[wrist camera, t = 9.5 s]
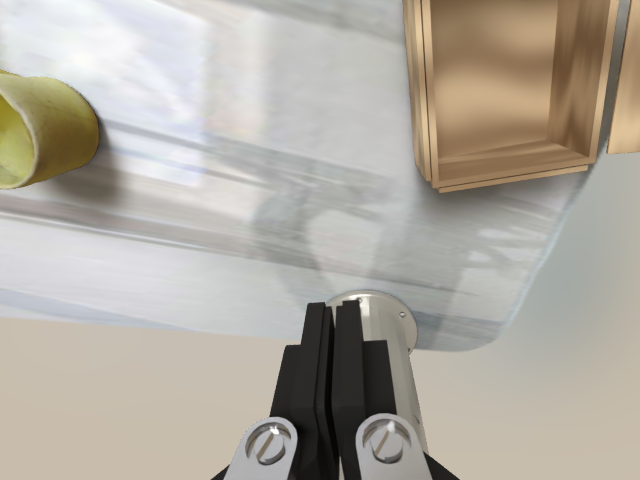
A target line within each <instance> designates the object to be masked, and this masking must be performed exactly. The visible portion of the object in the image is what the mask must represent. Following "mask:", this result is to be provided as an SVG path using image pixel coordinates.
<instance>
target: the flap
mask: <svg viewBox="0 0 640 480" xmlns="http://www.w3.org/2000/svg"><path fill="white" fill-rule="evenodd" d="M632 152H640V0H630V6H629V12H628V19H627V25H626V31H625V38H624V44H623V50H622V57H621V63H620V69H619V76H618V82H617V88H616V94H615V101H614V107H613V113H612V120H611V126H610V132H609V139H608V145H607V151H606V153H607V154H617V153H632Z"/></svg>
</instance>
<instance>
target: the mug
mask: <svg viewBox="0 0 640 480" xmlns="http://www.w3.org/2000/svg"><path fill="white" fill-rule="evenodd" d="M98 144H99V129H98V123H97V118H96V116H95V113H94V111H93V109H92V108H91V107H90V106H89V105H88V103H87V102H86V101H85V100H84V99H83V98H82V97H81V95H80V94H79V93H78V92H77V91H75V90H74V89H73V88H71V87H70V86H68V85H67V84H65V83H63V82H61V81H59V80H57V79H53V78H48V77H21V76H19V75H16V74H13V73H9V72H6V71H4V70H1V69H0V189H7V190H8V189H15V188H21V187H25V186H28V185H31V184H33V183H37V182H41V181H45V180H47V179H49V178H51V177H53V176H55V175H58V174H61V173H64V172H67V171H70V170H73V169H76V168H79V167H82V166H83V165H85V164H86V163H88V162H89V161H90V160H91V159H92V158H93V156H94V155H95V152H96V150H97V147H98Z"/></svg>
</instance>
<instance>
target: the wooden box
mask: <svg viewBox="0 0 640 480" xmlns="http://www.w3.org/2000/svg"><path fill="white" fill-rule="evenodd" d="M618 5H619V0H403V11H404V23H405V36H406V49H407V61H408V74H409V87H410V100H411V112H412V125H413V138H414V150H415V163H416V166H417V167H418V169H419V171H420V172H421V174H422V176H423V177H424V179H425V180H426V181H428V182H429V183H430V185H431V186H432V188H436V189H437V190H438V192H439V193H444V192H451V191H457V190H463V189H470V188H476V187H483V186H489V185H496V184H502V183H508V182H515V181H521V180H528V179H534V178H541V177H547V176H553V175H560V174H566V173H573V172H579V171H586V170H587V169H588V165H586V164H591V163H595V162H596V155H597V148H598V141H599V134H600V127H601V121H602V114H603V107H604V100H605V93H606V86H607V80H608V73H609V66H610V59H611V52H612V46H613V39H614V32H615V25H616V18H617V11H618Z"/></svg>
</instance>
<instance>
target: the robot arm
mask: <svg viewBox="0 0 640 480" xmlns="http://www.w3.org/2000/svg"><path fill="white" fill-rule="evenodd" d="M416 341H417V327H416V322H415V320H414V317H413V315H412V313H411V312H410V310H409V309H408V307H406V306H405V305H404V304H403V303H402V302H401V301H399V300H398V299H396V298H395V297H393V296H391V295H388V294H386V293H382V292H378V291H370V290H361V291H353V292H349V293H345V294H342V295H340V296H338V297H336V298H334V299H333V300H331V301H330V302H328V303H327V304H325V302H319V303H308V305H307V311H306V316H305V322H304V328H303V334H302V340H301V345H287V346H286V347H285V350H284V354H283V359H282V363H281V367H280V372H279V376H278V381H277V385H276V390H275V394H274V398H273V403H272V407H271V412H270V416H269V417H268V418H265V419H262V420H260V421H258V422H256V423H255V424H253V425H252V426H251V427H250V428H249V429H248V430H247V431H246V432H245V434H244V436H243V437H242V439H241V441H240V443H239V446H238V448H237V450H236V452H235V455H234V457H233V459H232V461H231V464H230V465H229V466H227V467H226V468H225V469H224V470H222V471H221V472H220V473H219V474H217V475H216V476H215V477H214V478H212V479H211V480H460V479H458V478H457V477H456V476H455V475H453V474H452V473H451V472H449V471H448V470H447V469H446V468H444V467H443V466H442V465H441V464H439V463H438V462H437V461H435V460H434V459H433V458H432V457H430V456H429V452H428V447H427V442H426V437H425V433H424V427H423V422H422V417H421V412H420V407H419V403H418V398H417V393H416V388H415V383H414V378H413V373H412V368H411V363H410V358H409V355H410V354H411V352H412V350H413V349H414V347H415V344H416Z"/></svg>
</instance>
